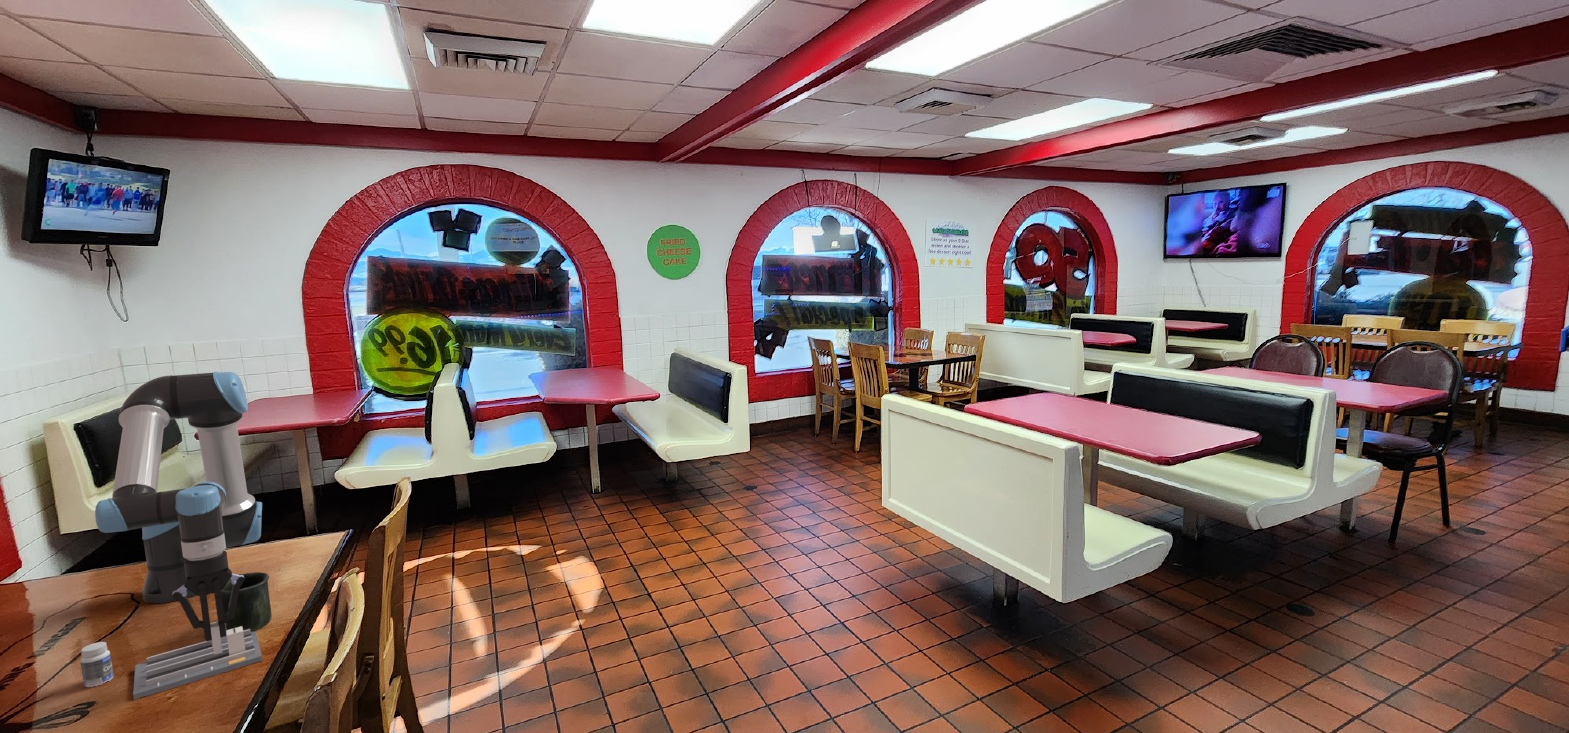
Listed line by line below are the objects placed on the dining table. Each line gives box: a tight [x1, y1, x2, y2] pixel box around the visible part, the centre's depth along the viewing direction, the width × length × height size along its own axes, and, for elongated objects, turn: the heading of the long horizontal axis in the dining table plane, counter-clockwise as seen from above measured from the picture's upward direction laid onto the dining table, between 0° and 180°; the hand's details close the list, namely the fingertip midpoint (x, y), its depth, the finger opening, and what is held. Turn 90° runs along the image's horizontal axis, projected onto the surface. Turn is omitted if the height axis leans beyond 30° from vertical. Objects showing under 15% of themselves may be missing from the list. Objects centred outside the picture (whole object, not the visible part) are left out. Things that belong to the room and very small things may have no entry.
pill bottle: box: [80, 641, 114, 688], centre depth 153 cm, size 5×5×8 cm
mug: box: [221, 571, 273, 632], centre depth 178 cm, size 11×15×12 cm
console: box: [132, 621, 263, 700], centre depth 159 cm, size 15×22×7 cm
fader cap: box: [226, 626, 246, 656], centre depth 162 cm, size 3×3×6 cm
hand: (217, 651), depth 159 cm, fingers closed
